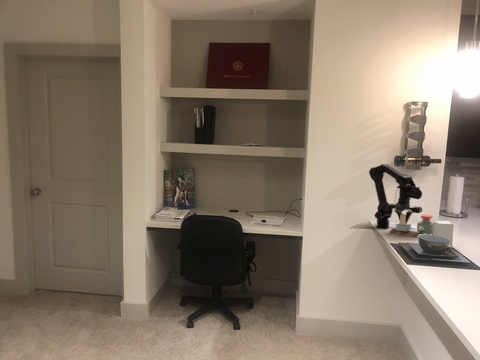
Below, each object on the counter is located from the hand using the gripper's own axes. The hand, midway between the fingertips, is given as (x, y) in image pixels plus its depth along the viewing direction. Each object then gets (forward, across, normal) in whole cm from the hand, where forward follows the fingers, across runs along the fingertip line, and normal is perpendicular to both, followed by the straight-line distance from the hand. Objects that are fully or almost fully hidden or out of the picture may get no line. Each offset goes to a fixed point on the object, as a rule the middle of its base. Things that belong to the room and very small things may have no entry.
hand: (403, 222), depth 220 cm
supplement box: (+7, +24, -10) cm, 27 cm away
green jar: (+7, +9, +12) cm, 17 cm away
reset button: (+3, +9, +12) cm, 15 cm away
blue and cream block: (+4, 0, 0) cm, 4 cm away
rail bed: (+7, +2, 0) cm, 7 cm away
